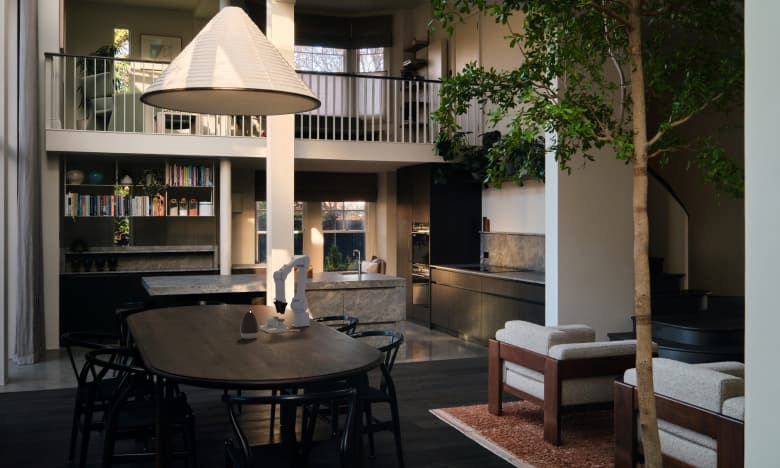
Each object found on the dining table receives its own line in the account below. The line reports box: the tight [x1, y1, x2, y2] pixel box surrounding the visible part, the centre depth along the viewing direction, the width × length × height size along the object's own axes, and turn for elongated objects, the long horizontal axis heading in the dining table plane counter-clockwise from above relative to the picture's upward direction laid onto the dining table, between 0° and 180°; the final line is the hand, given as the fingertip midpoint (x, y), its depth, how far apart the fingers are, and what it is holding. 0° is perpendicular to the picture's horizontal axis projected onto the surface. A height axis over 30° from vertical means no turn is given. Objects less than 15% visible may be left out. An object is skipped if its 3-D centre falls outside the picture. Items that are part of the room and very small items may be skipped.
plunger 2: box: [277, 318, 286, 324], centre depth 419 cm, size 4×4×3 cm
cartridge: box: [266, 316, 274, 327], centre depth 422 cm, size 4×4×6 cm
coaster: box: [289, 329, 301, 333], centre depth 418 cm, size 6×6×1 cm
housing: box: [259, 321, 290, 334], centre depth 422 cm, size 12×19×4 cm, turn 28°
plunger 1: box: [271, 316, 280, 322], centre depth 429 cm, size 4×4×3 cm
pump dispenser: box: [239, 311, 260, 340], centre depth 395 cm, size 10×10×15 cm
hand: (280, 313), depth 419 cm, fingers open, 6 cm apart
